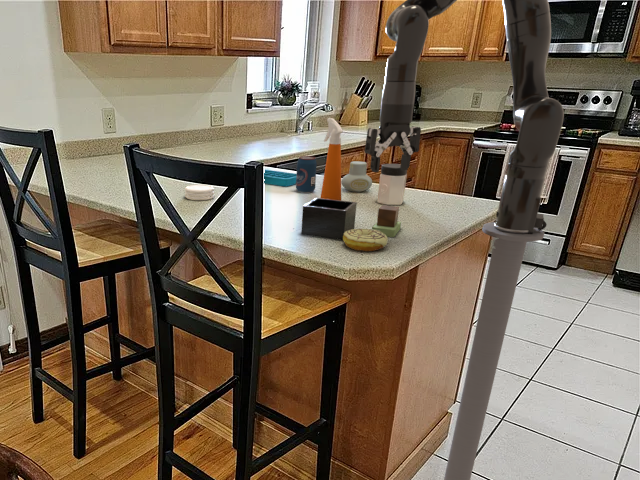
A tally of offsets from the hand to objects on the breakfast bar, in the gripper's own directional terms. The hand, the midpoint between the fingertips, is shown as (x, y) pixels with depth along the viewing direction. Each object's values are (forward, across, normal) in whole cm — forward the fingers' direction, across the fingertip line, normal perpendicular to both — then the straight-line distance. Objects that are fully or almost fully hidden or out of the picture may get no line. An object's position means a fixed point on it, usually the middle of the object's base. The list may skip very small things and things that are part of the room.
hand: (389, 170), depth 131 cm
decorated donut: (+18, -8, -5) cm, 20 cm away
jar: (+18, +26, +33) cm, 45 cm away
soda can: (+18, +7, +58) cm, 60 cm away
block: (+15, +4, +4) cm, 17 cm away
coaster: (+17, -32, +61) cm, 71 cm away
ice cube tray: (+18, +3, +77) cm, 79 cm away
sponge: (+17, +4, +4) cm, 19 cm away
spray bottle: (+18, +7, +41) cm, 45 cm away
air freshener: (+18, +25, +53) cm, 61 cm away
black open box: (+17, -11, +9) cm, 23 cm away
